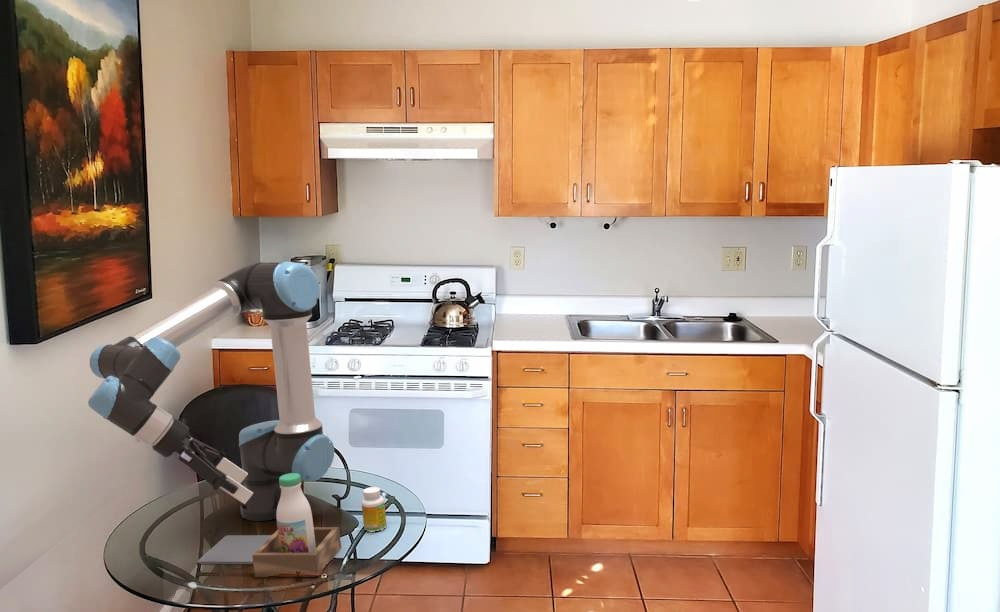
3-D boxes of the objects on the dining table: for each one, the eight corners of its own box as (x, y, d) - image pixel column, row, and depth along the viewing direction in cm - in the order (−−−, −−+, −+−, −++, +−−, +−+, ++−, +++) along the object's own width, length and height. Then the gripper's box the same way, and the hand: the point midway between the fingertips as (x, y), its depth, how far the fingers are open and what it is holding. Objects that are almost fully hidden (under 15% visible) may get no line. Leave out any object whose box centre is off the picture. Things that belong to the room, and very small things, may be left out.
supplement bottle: (382, 533, 201) (378, 494, 199) (360, 532, 202) (356, 493, 200) (389, 523, 206) (386, 485, 204) (368, 523, 207) (364, 485, 205)
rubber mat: (226, 537, 205) (226, 535, 205) (280, 537, 202) (280, 535, 202) (197, 564, 191) (196, 561, 191) (255, 564, 189) (255, 561, 189)
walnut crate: (282, 548, 196) (279, 527, 196) (341, 547, 194) (339, 527, 193) (254, 577, 182) (252, 555, 182) (318, 577, 180) (315, 555, 179)
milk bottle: (295, 552, 193) (285, 468, 190) (324, 556, 190) (314, 471, 187) (274, 567, 186) (263, 481, 183) (303, 571, 183) (293, 483, 180)
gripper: (152, 432, 185) (231, 484, 193) (148, 464, 162) (238, 522, 170) (174, 404, 187) (252, 457, 194) (174, 433, 163) (263, 492, 171)
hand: (246, 488), depth 182 cm, fingers open, 13 cm apart
